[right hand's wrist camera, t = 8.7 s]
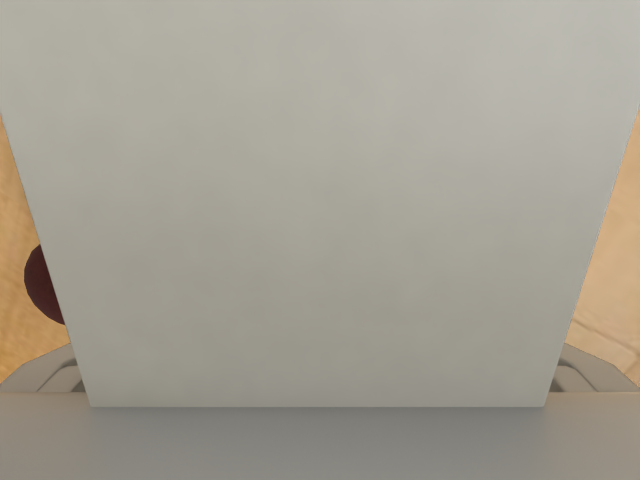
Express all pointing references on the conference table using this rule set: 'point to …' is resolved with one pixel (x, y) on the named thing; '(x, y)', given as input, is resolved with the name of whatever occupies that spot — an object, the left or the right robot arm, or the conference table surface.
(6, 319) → the conference table surface
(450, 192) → the box
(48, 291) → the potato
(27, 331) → the conference table surface
